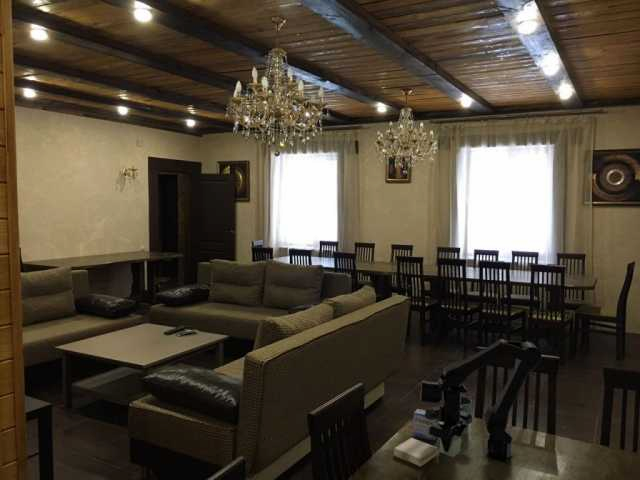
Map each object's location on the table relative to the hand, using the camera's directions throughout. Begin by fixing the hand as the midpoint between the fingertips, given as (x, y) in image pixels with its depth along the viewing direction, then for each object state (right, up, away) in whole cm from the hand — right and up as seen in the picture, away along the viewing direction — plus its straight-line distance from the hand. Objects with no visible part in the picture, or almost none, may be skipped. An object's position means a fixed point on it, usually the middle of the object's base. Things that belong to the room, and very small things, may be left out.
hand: (450, 448), depth 177 cm
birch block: (-12, -2, -2) cm, 12 cm away
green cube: (0, -1, 0) cm, 1 cm away
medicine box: (-6, 0, +11) cm, 13 cm away
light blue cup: (+6, 0, +15) cm, 16 cm away
